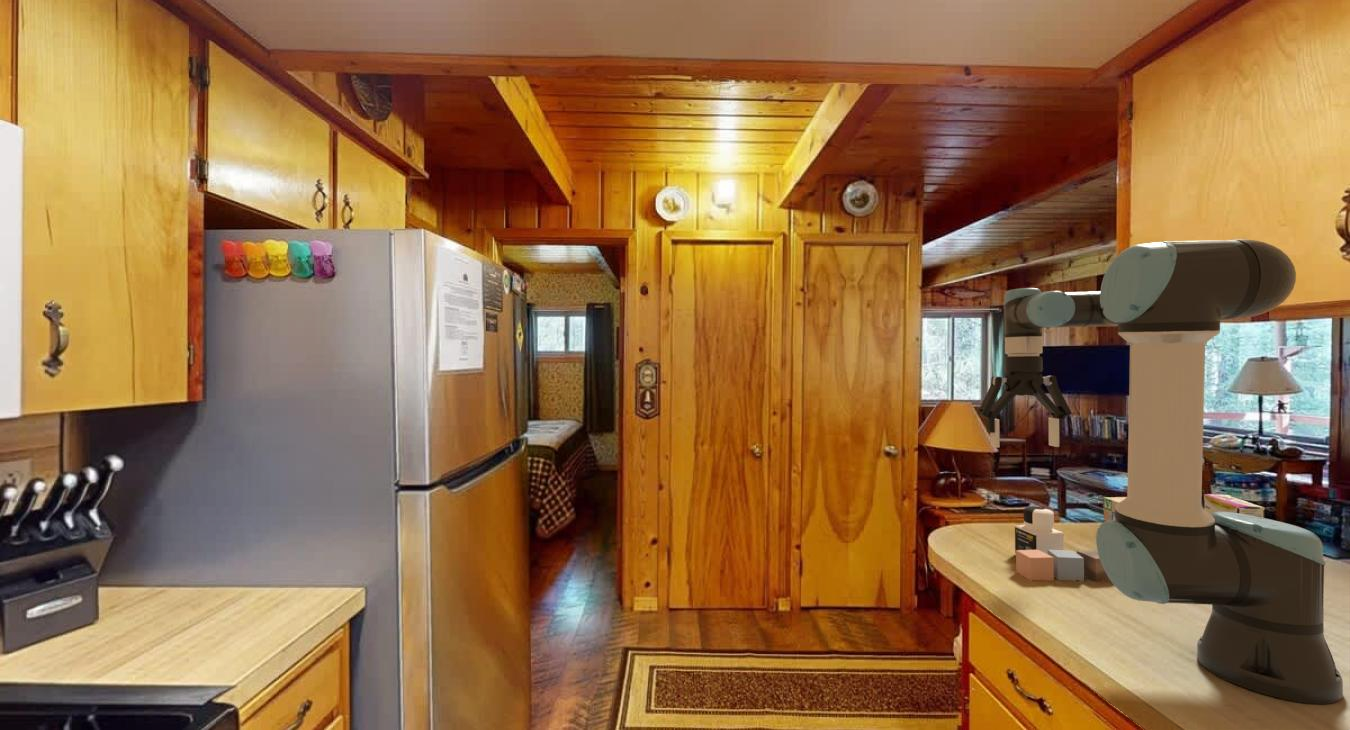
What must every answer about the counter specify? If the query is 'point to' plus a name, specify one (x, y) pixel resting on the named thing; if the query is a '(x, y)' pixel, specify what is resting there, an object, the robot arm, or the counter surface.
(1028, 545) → the medicine bottle
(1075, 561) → the slate blue cube
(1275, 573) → the robot arm
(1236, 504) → the candy bar box
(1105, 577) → the walnut cube
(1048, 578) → the terracotta cube
